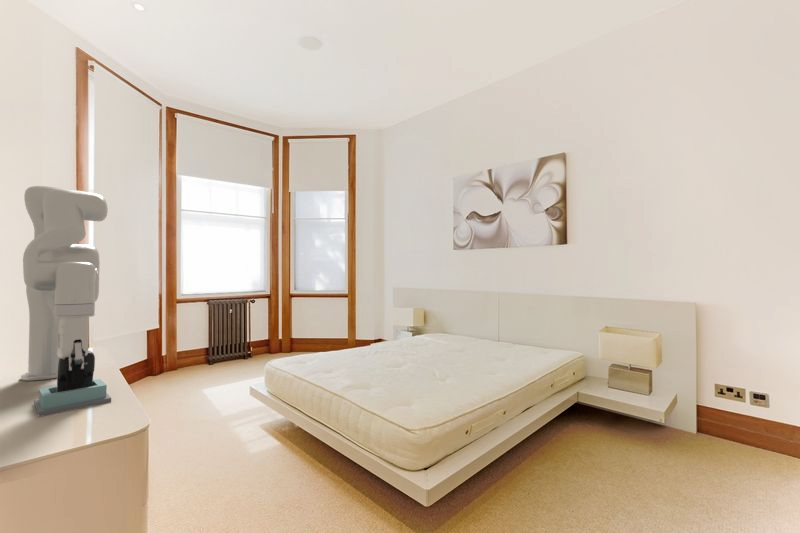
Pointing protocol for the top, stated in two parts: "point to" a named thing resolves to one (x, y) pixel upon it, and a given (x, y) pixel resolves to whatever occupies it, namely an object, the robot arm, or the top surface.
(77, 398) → the dock
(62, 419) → the top surface
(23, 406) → the top surface
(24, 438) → the top surface
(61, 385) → the battery charger
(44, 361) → the robot arm
